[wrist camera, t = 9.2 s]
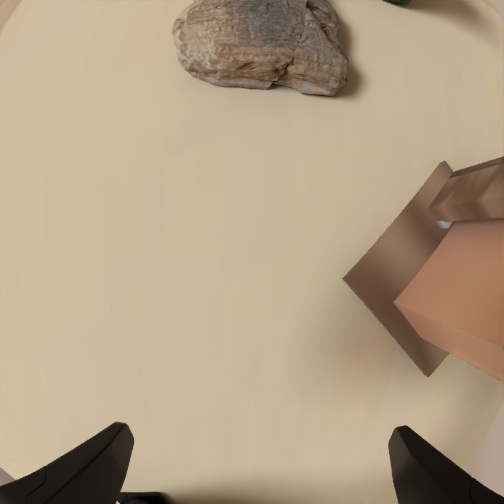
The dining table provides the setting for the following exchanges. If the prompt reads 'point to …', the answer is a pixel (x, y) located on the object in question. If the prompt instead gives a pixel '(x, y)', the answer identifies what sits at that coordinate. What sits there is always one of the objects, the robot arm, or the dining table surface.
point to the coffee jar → (400, 1)
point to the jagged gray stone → (263, 44)
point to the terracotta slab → (463, 295)
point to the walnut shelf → (424, 246)
